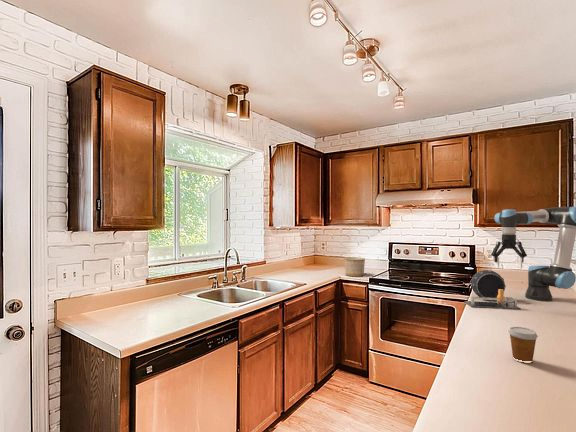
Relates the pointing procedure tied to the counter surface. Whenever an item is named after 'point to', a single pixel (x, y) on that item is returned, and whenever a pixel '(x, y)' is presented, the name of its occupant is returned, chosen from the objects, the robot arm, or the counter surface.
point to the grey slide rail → (508, 299)
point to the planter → (354, 266)
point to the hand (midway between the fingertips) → (508, 267)
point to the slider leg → (500, 295)
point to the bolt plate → (492, 305)
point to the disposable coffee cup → (523, 343)
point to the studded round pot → (487, 283)
